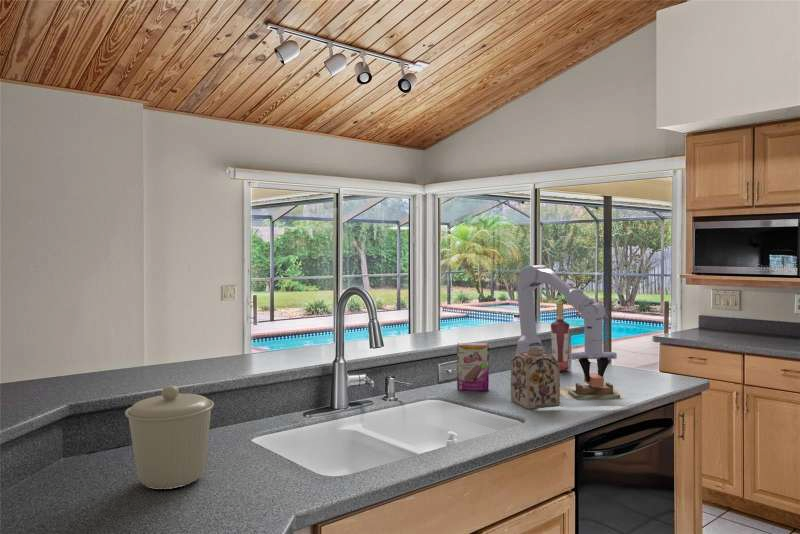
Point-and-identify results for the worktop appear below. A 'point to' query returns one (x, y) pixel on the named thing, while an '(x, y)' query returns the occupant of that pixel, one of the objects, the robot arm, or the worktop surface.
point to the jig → (571, 394)
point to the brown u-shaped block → (594, 389)
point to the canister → (170, 437)
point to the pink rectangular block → (595, 380)
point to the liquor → (560, 339)
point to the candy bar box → (472, 366)
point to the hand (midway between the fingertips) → (593, 380)
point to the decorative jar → (535, 379)
